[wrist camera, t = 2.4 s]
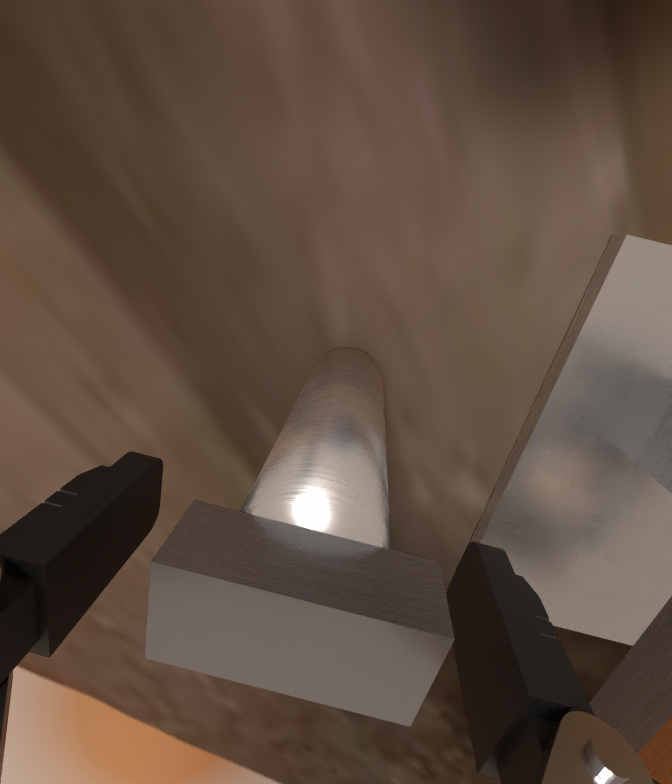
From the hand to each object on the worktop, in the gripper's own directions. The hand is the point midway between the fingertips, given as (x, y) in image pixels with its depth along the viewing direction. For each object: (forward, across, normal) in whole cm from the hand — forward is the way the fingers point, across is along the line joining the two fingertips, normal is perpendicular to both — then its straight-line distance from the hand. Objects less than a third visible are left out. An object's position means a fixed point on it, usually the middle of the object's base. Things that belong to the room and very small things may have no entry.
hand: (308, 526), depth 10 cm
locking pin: (+10, 0, 0) cm, 10 cm away
